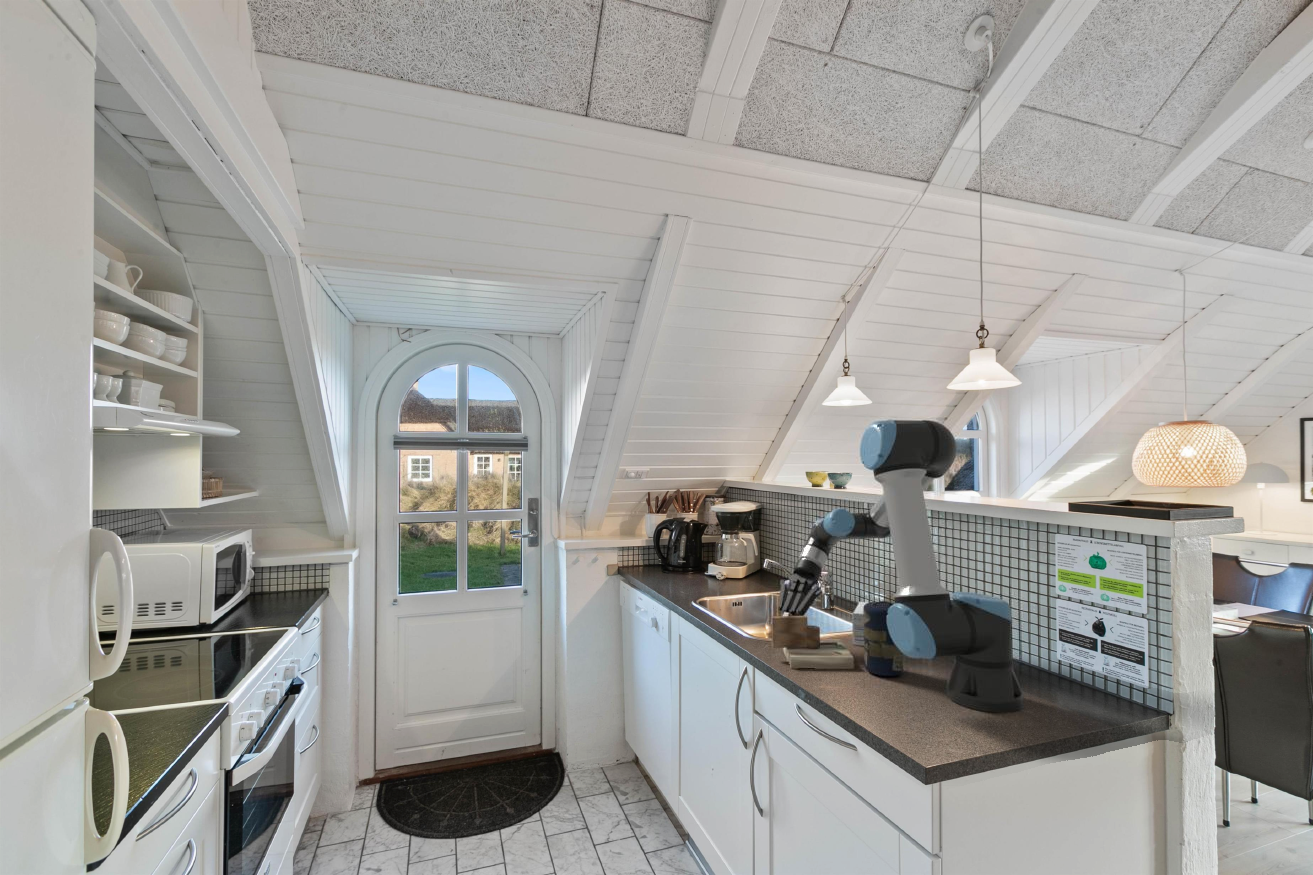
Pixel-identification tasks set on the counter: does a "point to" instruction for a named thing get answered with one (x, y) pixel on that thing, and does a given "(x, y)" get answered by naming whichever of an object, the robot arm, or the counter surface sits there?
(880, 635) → the canister
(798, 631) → the brown stepped wooden block
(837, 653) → the dial board
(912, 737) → the counter surface
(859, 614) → the supplement box
